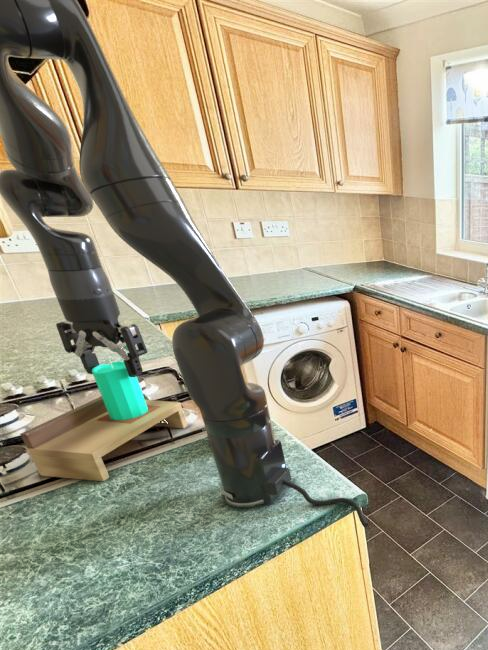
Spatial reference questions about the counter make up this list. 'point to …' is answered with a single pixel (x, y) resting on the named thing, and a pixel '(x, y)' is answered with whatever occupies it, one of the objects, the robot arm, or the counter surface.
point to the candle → (119, 391)
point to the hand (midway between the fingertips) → (115, 374)
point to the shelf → (91, 437)
